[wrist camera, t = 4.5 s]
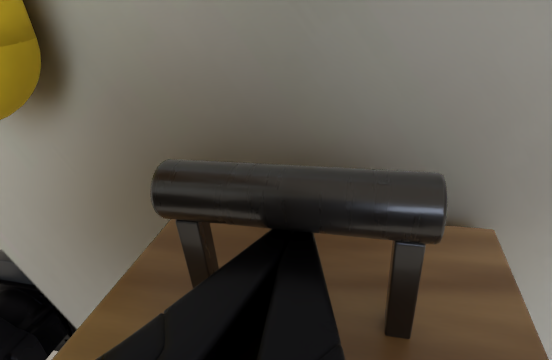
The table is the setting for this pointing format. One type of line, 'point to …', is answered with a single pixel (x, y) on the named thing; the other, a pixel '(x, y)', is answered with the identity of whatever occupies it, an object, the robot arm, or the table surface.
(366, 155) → the table surface
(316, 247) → the robot arm
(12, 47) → the yellow plastic egg
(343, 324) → the drawer
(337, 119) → the table surface
